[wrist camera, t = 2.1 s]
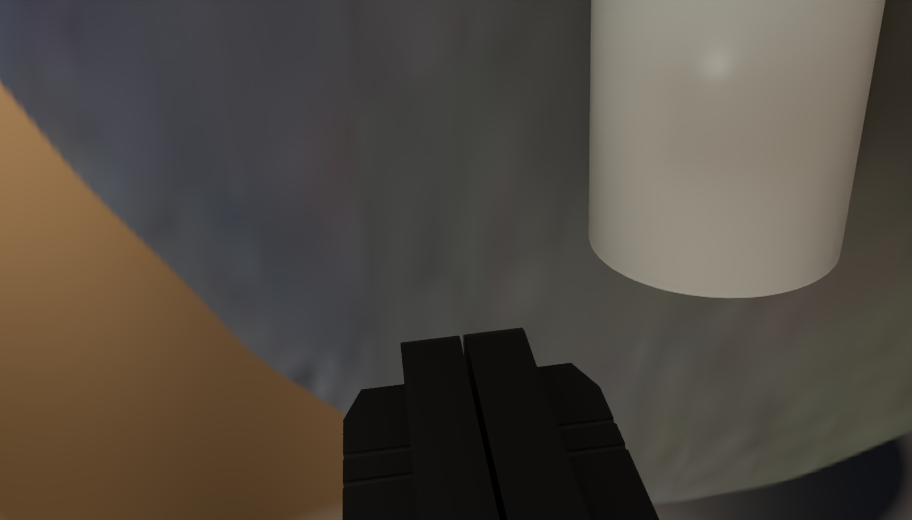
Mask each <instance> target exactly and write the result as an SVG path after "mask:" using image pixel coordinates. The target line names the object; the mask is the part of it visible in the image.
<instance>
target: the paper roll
mask: <svg viewBox="0 0 912 520" xmlns="http://www.w3.org/2000/svg"><path fill="white" fill-rule="evenodd" d="M884 6H885V0H591V55H590V151H589V241H590V244H591V246H592V249H593V250H594V252H595V253H596V254H597V256H598V257H599V258H600V259H601V260H602V261H603V262H604V263H606V264H607V265H608V266H610V267H611V268H612V269H614V270H615V271H617V272H619V273H621V274H623V275H624V276H626V277H629V278H631V279H633V280H636V281H638V282H640V283H643V284H646V285H649V286H652V287H655V288H659V289H663V290H667V291H671V292H676V293H682V294H687V295H694V296H703V297H716V298H748V297H760V296H767V295H774V294H780V293H784V292H788V291H792V290H796V289H798V288H801V287H804V286H807V285H809V284H811V283H813V282H815V281H817V280H819V279H821V278H822V277H824V276H825V275H826V274H828V273H829V272H830V271H831V270H832V269H833V268H834V267H835V265H836V264H837V262H838V260H839V258H840V253H841V248H842V242H843V237H844V231H845V225H846V220H847V214H848V208H849V203H850V197H851V192H852V186H853V180H854V175H855V169H856V163H857V158H858V152H859V147H860V141H861V135H862V130H863V124H864V118H865V113H866V107H867V102H868V96H869V90H870V85H871V79H872V73H873V68H874V62H875V56H876V51H877V45H878V40H879V34H880V28H881V23H882V17H883V11H884Z"/></svg>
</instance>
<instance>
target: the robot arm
mask: <svg viewBox="0 0 912 520" xmlns="http://www.w3.org/2000/svg"><path fill="white" fill-rule="evenodd" d="M463 347H464V354H463V349H462V345H461V340H460V337H459V336H451V337H443V338H435V339H427V340H419V341H411V342H403V343H401V353H402V363H403V373H404V383H405V384H402V385H394V386H386V387H378V388H370V389H362V390H361V391H360V393H359V394H358V396H357V398H356V399H355V401H354V403H353V405H352V406H351V408H350V410H349V411H348V413H347V415H346V416H345V418H344V420H343V454H344V455H343V456H344V460H343V485H344V488H343V520H659V518H658V516H657V514H656V511H655V509H654V507H653V505H652V502H651V500H650V498H649V496H648V493H647V491H646V489H645V487H644V485H643V482H642V480H641V478H640V476H639V473H638V471H637V469H636V467H635V464H634V462H633V460H632V458H631V456H630V453H629V451H628V450H626V448H625V442H624V440H623V438H622V435H621V433H620V431H619V429H618V427H617V424H616V423H615V424H614V420H613V415H612V413H611V411H610V409H609V406H608V404H607V402H606V400H605V398H604V395H603V393H602V391H601V389H600V387H599V386H598V385H597V384H596V383H595V382H593V381H592V380H591V379H590V378H589V377H587V376H586V375H585V374H584V373H583V372H581V371H580V370H579V369H578V368H577V367H575V366H574V365H573V364H572V363H566V364H558V365H550V366H542V367H537V365H536V363H535V360H534V357H533V354H532V351H531V348H530V345H529V342H528V340H527V337H526V334H525V331H524V330H523V328H515V329H506V330H498V331H490V332H482V333H474V334H466V335H464V336H463Z"/></svg>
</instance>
